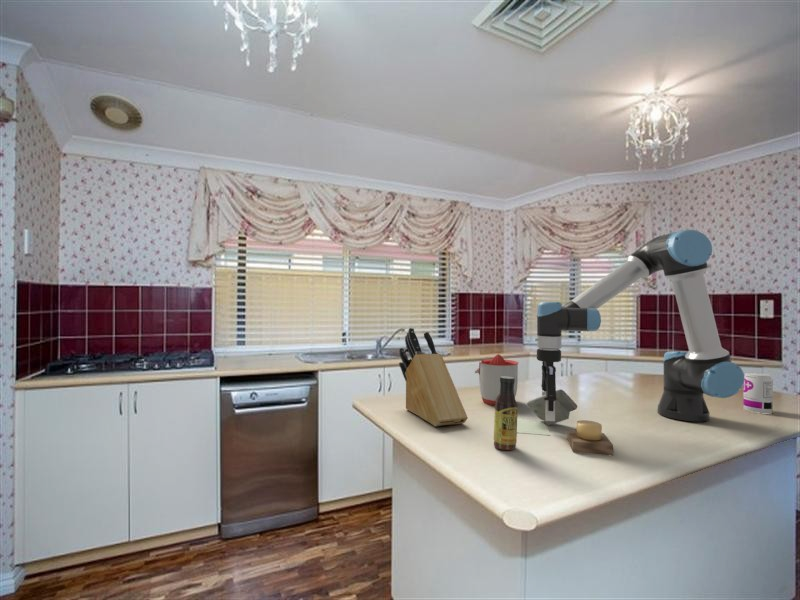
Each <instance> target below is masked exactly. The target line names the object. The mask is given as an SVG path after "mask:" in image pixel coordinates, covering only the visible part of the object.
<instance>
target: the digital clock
mask: <svg viewBox="0 0 800 600" xmlns="http://www.w3.org/2000/svg"><path fill="white" fill-rule="evenodd" d="M550 396H552V395H550ZM544 398H547V397H546V395H543V396H542V395H540V396H538V397H536V398H533V399H531V400H528V401H527V402H526V406H527V407H528V409H530V410H531V412H533V414H535V415H536V416H537V418H539V419H540V420H541V421H544V423H545V424H546V426H547V427H548V426H551V425H553V424H556V423H560V422H564V421H566V420H567V421H568V420H569V418H570V413H571V412H573V411H575V410H577V408H578V405H577V403H576V402H575V401H574V400H573V398H571V397H570V396H569V394H567V392H565V390H563V389H562V388H561V389H558V390H557V389H556V400H555V421H546V400H544Z"/></svg>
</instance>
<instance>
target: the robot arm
mask: <svg viewBox="0 0 800 600" xmlns="http://www.w3.org/2000/svg"><path fill="white" fill-rule="evenodd" d="M712 253H713V244H712V242H711V240H710V239H709V237H708V236H707V235H706V234H704V233H703V232H700V231H699V230H695V229H685V230H684V229H683V230H677V231H674V232H671V233H668V234H663V235H660V236H656V237H654V238H652V239H650V240H649V241H647V242H646V243H645V244H643V245H642V246H640V247H639V248H638V249H637V250H635V251H634V252H632V253H631V254H630V255H628V256H627V258H626V261H625V262H623V263H622V264H621V265H619V266H618V267H617V268H615V269H614V270H612V271H611V272H609V273H608V274H606V275H605V276H604V277H603V278H601V279H599V280H598V281H597V282H596V283H594V284H593V285H591V286H590V287H589V288H587V289H585V290H584V291H583V292H581V293H580V294H579V295H577V296H575V297H574V298H573V299H571V300H570V301H569V302H567V303H566V304H564V305H562V304H563V303H562V302H560V301H540V302H539V303H538V304H537V311H536V312H537V313H536V320H537V321H536V323H537V324H536V331H537V333H536V334H537V336H536V338H535V340H534V341H535V342H536V346H537V349H536V360H537V361H539V362H542V363H541V364H542V365H541V384H540V386H541V396H543V395H546V397H547V398H544V400H546V421H555V400H556V391H557V389H556V388H557V386H556V383H557V382H556V371H557V367H555V366H556V365H555V364H554V363H559V362H562V350H561V348H562V340H563V339H562V337H563V336H562V332H568V331H569V332H596V331H598V330H599V329H600V327H601V324H602V317H601V313H600V311H599V310H598V309H599V308H600V307H602V306H603V305H605V304H606V303H607V302H609V301H610V300H612V299H614V298H615V297H616V296H617V295H619V294H621V292H623V291H625V290H626V289H628V288H629V287H630V286H631V285H633V284H634V283H636V282H637V281H639V280H640V279H642V278H643V279H646V278H648V277H649V276H651V275H653V274H654V273H657V272H660V271H662V270H663V271H662V272H663V274H664V277H665V278H667V279H669V280H670V281H671V283H672V288H673V291H674V294H675V299H676V303H677V308H678V312H679V316H680V320H681V324H682V329H683V331H684V335H685V336H684V337H685V340H686V344H687V348H688V351H684V350H683V351H678V350H677V351H676V350H675V351H666V352H665V353H664V355H663V360H662V364H663V392H662V395H661V398H660V400H659V402H658V405H657V413H658V415H661V416H663V417H666V418H670V419H674V420H679V421H687V422H698V423H699V422H708V421H710V416H711V415H710V410H709V409H708V406H707V405H708V404H707V403H706V400H705V397H704V394H705V395H707V396H709V397H713V398H714V397H715V398H719V399H726V398H731V397H733V396H735V395H736V394H738V393H739V391H740V389H742V388H743V384H744V376H745V373H744V371H743V369H742V367H740V366H739V365H738V364H737V363H735V362H732V359H731V355H730V351H729V350H727V349H725V348H724V347H722V342H721V339H720V336H719V332H718V328H717V322H716V319H715V315H714V311H713V307H712V302H711V300H710V295H709V291H708V287H707V283H706V280H705V275H704V274H705V273H706V271H708V269H709V267H708V263H707V261H709V260H710V258H711V257H710V256H712V255H713V254H712ZM550 395H552V396H550Z"/></svg>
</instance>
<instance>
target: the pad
mask: <svg viewBox="0 0 800 600" xmlns="http://www.w3.org/2000/svg"><path fill="white" fill-rule="evenodd" d="M517 434H524V435H538V436H548V437H549V436H550V437H551V434H550V431H549V429H548V426H547V424H546V423H545V422H540V421H534V420H529V419H524V418H520V417H517Z"/></svg>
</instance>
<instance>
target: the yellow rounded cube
mask: <svg viewBox="0 0 800 600" xmlns="http://www.w3.org/2000/svg"><path fill="white" fill-rule="evenodd" d="M602 427H603V425H602V424H601V423H599V422H598V421H593V420H588V419H587V420H584V419H582V420H581V419H580V420H578V421H576V431H577V436H578V437H580V438H583V440H600V439H602V433H603V431H602V429H603V428H602Z"/></svg>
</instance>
